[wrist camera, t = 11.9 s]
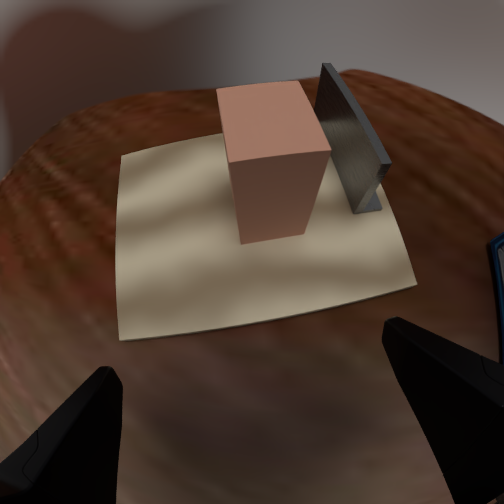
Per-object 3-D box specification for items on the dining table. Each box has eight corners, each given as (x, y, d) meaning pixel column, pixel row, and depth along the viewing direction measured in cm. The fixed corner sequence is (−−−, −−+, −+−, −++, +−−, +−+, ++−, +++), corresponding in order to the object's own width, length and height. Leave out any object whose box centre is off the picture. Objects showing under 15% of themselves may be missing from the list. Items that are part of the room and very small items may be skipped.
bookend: (381, 210, 23) (414, 162, 16) (353, 214, 23) (382, 163, 16) (337, 115, 27) (350, 63, 21) (312, 116, 27) (322, 62, 21)
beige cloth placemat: (411, 287, 21) (417, 284, 21) (125, 341, 20) (119, 340, 20) (347, 127, 28) (349, 121, 27) (125, 161, 27) (121, 155, 26)
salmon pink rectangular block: (304, 234, 22) (331, 149, 13) (241, 244, 22) (228, 162, 13) (286, 172, 24) (298, 80, 15) (230, 181, 24) (216, 89, 15)
